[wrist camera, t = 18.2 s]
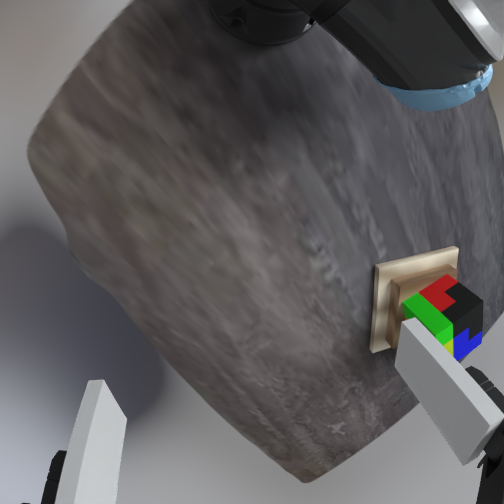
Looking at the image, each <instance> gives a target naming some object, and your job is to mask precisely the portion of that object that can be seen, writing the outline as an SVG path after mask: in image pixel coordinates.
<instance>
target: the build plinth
mask: <svg viewBox="0 0 504 504" xmlns="http://www.w3.org/2000/svg"><path fill="white" fill-rule="evenodd" d="M458 251H459V249H458V248H456V247H455V246H452V247H448V248H444V249H440V250H435V251H431V252H427V253H423V254H419V255H415V256H411V257H406V258H402V259H398V260H393V261H389V262H385V263H380V264H376V265H375V281H374V299H373V314H372V326H371V338H370V347H369V349H370V350H371V352H372V353H375V352H378V351H381V350H384V349H387V348H390V347H391V348H392V349H394V348H397V347H398V342H399V336H400V330H401V323H402V321H405V320H406V319H405V313H404V308H403V303H402V302H403V301H405V300H406V299H408V298H409V297H411V296H413V295H414V294H416V293H418V292H419V291H421V290H422V289H424V288H426V287H427V286H429V285H430V284H432V283H433V282H435V281H437V280H438V279H440V278H441V277H443V276H444V275H446V274H448V275H449V276H451V277H452V278H454V279H455V280H456V279H457V272H458V270H456V266H457V258H458Z"/></svg>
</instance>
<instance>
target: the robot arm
mask: <svg viewBox="0 0 504 504" xmlns="http://www.w3.org/2000/svg"><path fill="white" fill-rule="evenodd" d="M208 1H209V7H210V10H211V12H212V14H213V16H214V18H215V19H216V21H217V22H218V23H219V24H220V25H221V26H222V27H223V28H224V29H225V30H226V31H227V32H229V33H230V34H232V35H233V36H235V37H237V38H239V39H242V40H244V41H247V42H250V43H255V44H260V45H278V44H284V43H287V42H290V41H293V40H295V39H297V38H299V37H301V36H302V35H304V34H305V33H306V32H307V31H309V30H310V29H311V28H312V27H313V26H314V25H315V23H316V22H317V23H318V24H319V25H320V26H321V27H322V28H324V29H325V30H326V31H327V32H328V33H329V34H331V35H332V36H333V37H334V38H335V39H336V40H337V41H339V42H340V43H341V44H342V45H343V46H344V47H345V48H346V49H347V50H348V51H350V52H351V53H352V54H353V55H354V56H355V57H356V58H357V59H358V60H359V61H360V62H361V63H362V64H363V65H364V66H365V67H366V68H367V69H368V70H369V71H370V72H371V73H372V74H373V77H374V79H375V80H376V81H377V82H378V83H379V84H380V85H382V86H384V87H385V88H387V89H388V90H389V91H390V92H391V93H392V94H393V95H394V96H395V97H396V98H397V99H398V100H399V101H400V102H401V103H402V104H404V105H406V106H408V107H410V108H413V109H415V110H421V111H438V110H444V109H448V108H452V107H455V106H458V105H460V104H463V103H465V102H467V101H469V100H470V99H472V98H474V97H475V92H480V91H483V90H484V89H485V88H486V87H487V85H488V84H489V82H490V80H491V77H492V73H493V69H492V63H494V62H497V61H499V60H501V59H502V57H503V52H504V0H208ZM394 367H395V368H396V369H397V371H398V372H399V373H400V375H401V376H402V378H403V379H404V380H405V382H406V383H407V385H408V386H409V387H410V389H411V390H412V392H413V393H414V394H415V396H416V397H417V399H418V400H419V402H420V403H421V404H422V406H423V407H424V409H425V410H426V412H427V413H428V415H429V416H430V417H431V419H432V420H433V422H434V423H435V425H436V426H437V428H438V429H439V431H440V432H441V434H442V435H443V436H444V438H445V439H446V441H447V442H448V444H449V445H450V447H451V448H452V450H453V451H454V453H455V454H456V456H457V457H458V459H459V461H460V462H461V464H462V465H463V466H464V465H466V464H468V463H469V462H471V461H472V460H474V459H475V458H477V457H478V456H479V454H480V453H481V452H482V450H484V451H485V453H486V454H485V456H484V457H483V458H482V460H481V461H480V462H479V464H478V466H477V468H480V466H481V465H482V464H483V469H482V476H481V481H480V487H479V492H478V497H477V502H476V504H504V396H503V395H502V393H501V392H500V391H499V390H498V389H497V388H496V387H494V384H493V383H492V382H491V381H489V380H488V378H487V377H486V376H485V375H484V374H483V373H482V372H481V371H480V370H478V369H476V368H474V367H472V366H470V367H468V368H466V369H464V368H463V367H462V366H461V365H460V364H459V363H458V362H457V360H456V359H455V358H454V357H453V356H452V355H451V354H450V353H449V352H448V351H447V350H446V349H445V348H444V346H443V345H442V344H441V343H440V342H439V341H438V340H437V339H436V338H435V337H434V336H433V335H432V334H431V333H430V332H429V331H428V330H427V329H426V328H425V327H424V326H423V325H422V324H421V323H420V321H419V320H418V319H417V318H416V317H415V318H412V319H408V320H405V321H402V323H401V330H400V336H399V342H398V348H397V354H396V360H395V365H394ZM126 422H127V419H126V417H125V415H124V414H123V412H122V410H121V409H120V407H119V405H118V404H117V402H116V400H115V399H114V397H113V395H112V394H111V392H110V390H109V388H108V387H107V385H106V383H105V381H104V380H89V382H88V384H87V387H86V390H85V393H84V396H83V400H82V402H81V406H80V409H79V412H78V416H77V419H76V422H75V425H74V429H73V432H72V436H71V439H70V443H69V446H68V450H67V451H62V450H61V451H60V450H59V451H58V452H57V453H56V455H55V456H54V458H53V459H52V462H51V466H50V469H49V471H50V472H49V473H48V476H47V481H46V484H45V488H44V493H43V497H42V501H41V504H116V495H117V486H118V478H119V470H120V462H121V455H122V448H123V441H124V435H125V428H126ZM22 504H30V503H22Z"/></svg>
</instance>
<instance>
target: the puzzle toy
mask: <svg viewBox="0 0 504 504" xmlns="http://www.w3.org/2000/svg"><path fill="white" fill-rule="evenodd" d="M402 303H403V308H404V313H405V319H406V320H408V319H412V318H415V317H416V318H417V319H418V320H419V321H420V323H421V324H422V325H423V326H424V327H425V328H426V329H427V330H428V331H429V332H430V333H431V334H432V335H433V336H434V337H435V338H436V339H437V340H438V341H439V342H440V343H441V344H442V345H443V346H444V348H445V349H446V350H447V351H448V352H449V353H450V354H451V355H452V356H453V357H454V358H455V359H456V360H457V361H458V360H460V359H461V358H463V357H464V356H465V355H467V354H468V353H469V352H471V351H472V350H473V349H475V348H476V347H477V346H478V345H480V344H481V341H482V326H483V300H482V299H480V298H479V297H478V296H476V295H475V294H474V293H472V292H471V291H470V290H468V289H467V288H466V287H464V286H463V285H462V284H460V283H459V282H458V281H456V280H455V279H454V278H452V277H451V276H449V275H448V274H446V275H444V276H443V277H441V278H440V279H438V280H437V281H435V282H433V283H432V284H430V285H429V286H427V287H426V288H424V289H422V290H421V291H419V292H418V293H416V294H414V295H413V296H411V297H409V298H408V299H406V300H405V301H403V302H402Z"/></svg>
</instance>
